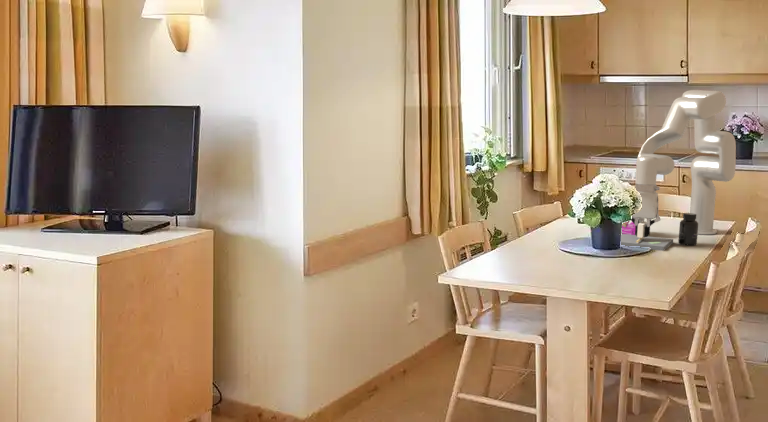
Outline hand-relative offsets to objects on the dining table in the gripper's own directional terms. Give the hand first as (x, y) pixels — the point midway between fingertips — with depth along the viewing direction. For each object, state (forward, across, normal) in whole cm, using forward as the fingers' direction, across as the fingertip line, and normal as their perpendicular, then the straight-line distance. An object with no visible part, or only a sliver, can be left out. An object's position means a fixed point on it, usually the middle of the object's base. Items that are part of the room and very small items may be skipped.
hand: (642, 235), depth 343 cm
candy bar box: (+3, +9, -17) cm, 20 cm away
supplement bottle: (+3, -15, -9) cm, 18 cm away
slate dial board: (+3, 0, 0) cm, 3 cm away
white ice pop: (+1, 0, +2) cm, 3 cm away
